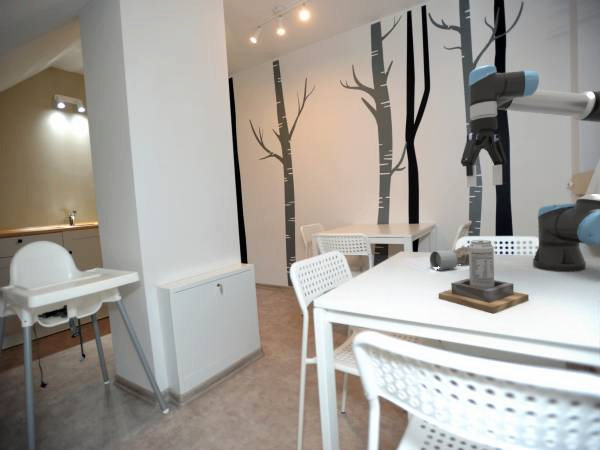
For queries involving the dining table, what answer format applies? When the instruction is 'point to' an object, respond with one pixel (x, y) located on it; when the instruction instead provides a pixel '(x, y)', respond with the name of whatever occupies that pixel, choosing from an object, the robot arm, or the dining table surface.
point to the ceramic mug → (443, 259)
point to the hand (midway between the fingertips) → (485, 185)
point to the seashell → (462, 255)
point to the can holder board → (484, 296)
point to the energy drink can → (481, 264)
